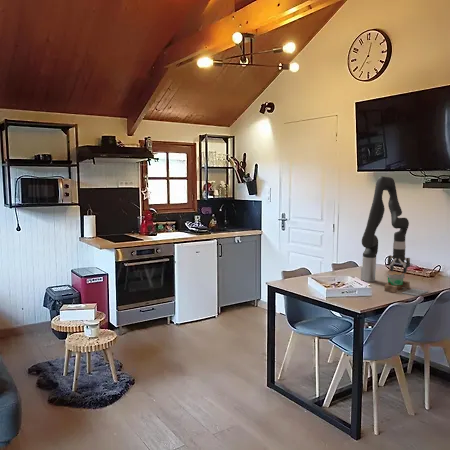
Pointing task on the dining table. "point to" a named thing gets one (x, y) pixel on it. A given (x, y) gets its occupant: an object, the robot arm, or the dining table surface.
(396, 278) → the food container
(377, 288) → the dining table surface
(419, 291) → the slate pad
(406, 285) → the clamp blocks
